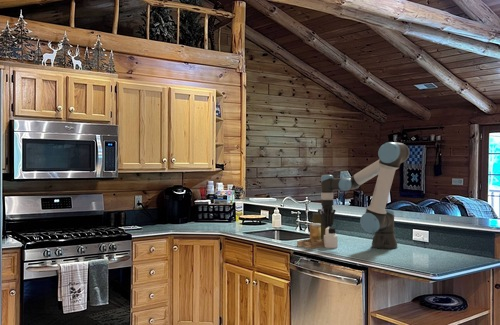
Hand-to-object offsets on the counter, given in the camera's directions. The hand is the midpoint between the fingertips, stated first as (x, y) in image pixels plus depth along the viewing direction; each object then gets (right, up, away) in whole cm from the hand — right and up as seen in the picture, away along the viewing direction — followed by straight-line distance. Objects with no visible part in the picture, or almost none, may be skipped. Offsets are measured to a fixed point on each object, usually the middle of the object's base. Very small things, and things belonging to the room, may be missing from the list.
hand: (327, 236), depth 308 cm
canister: (-1, -5, +26) cm, 26 cm away
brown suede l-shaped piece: (-9, -5, -1) cm, 10 cm away
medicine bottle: (0, -5, -10) cm, 11 cm away
